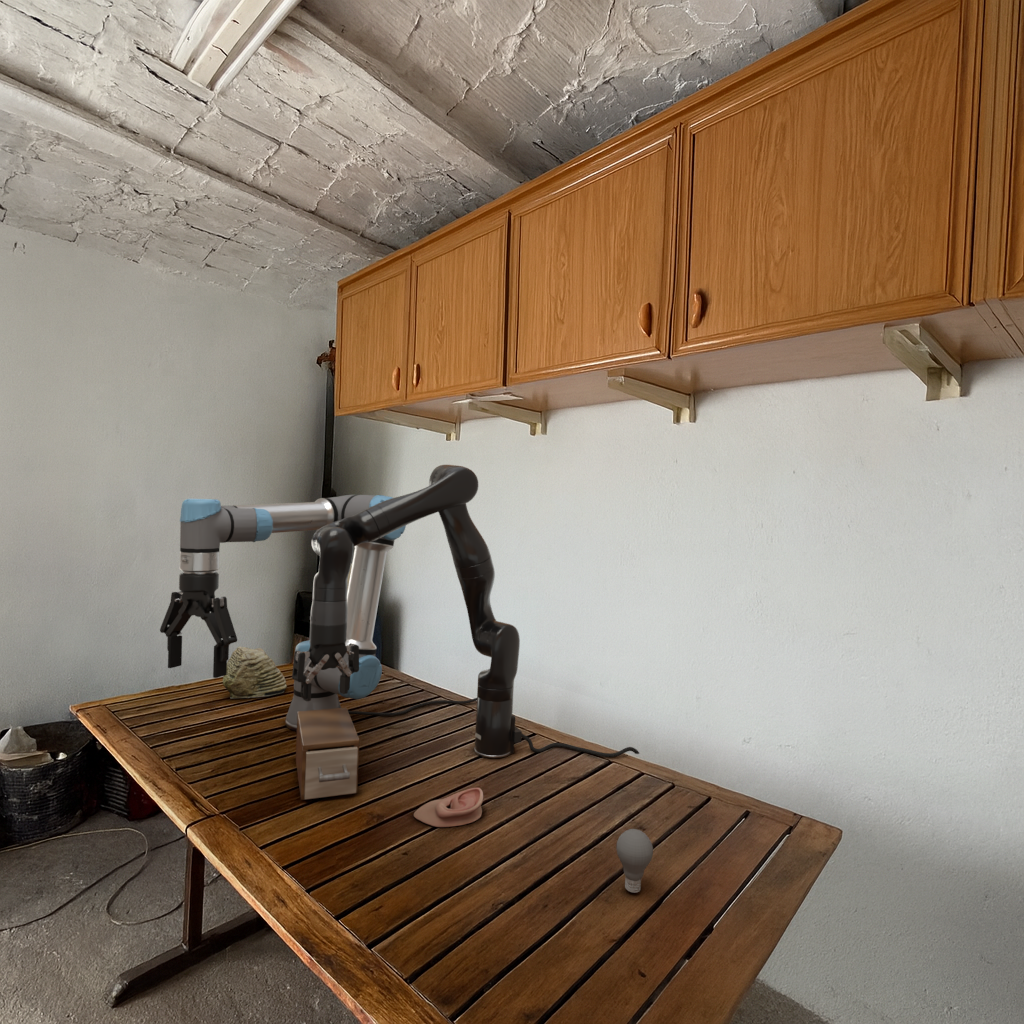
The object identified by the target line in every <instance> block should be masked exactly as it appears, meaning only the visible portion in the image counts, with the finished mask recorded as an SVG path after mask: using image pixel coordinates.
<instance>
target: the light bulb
mask: <svg viewBox="0 0 1024 1024" xmlns="http://www.w3.org/2000/svg"><path fill="white" fill-rule="evenodd" d="M615 849H616V854H617V857H618V859H619V861H620V863H621V865H622V867H623V873H624V874H623V875H624V876H625V878H624V888H625V890H627V891H628V892H630V893H634V894H635V893H639V892H640V891H641V889H642V887H641V886H642V879H643V877H644V875H645V871H646V868H647V867H648V866H649V864H650V863H651V861H652V859H653V855H654V847H653V843H652V841H651V838H649V836H648V835H647V834H646V833H645V832H643V831H642V830H641V829H636V828H629V829H627V830H625V831H623V832H622V833H621V834H620V835H619V837H618V839H617V841H616V847H615Z"/></svg>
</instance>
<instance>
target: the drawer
mask: <svg viewBox="0 0 1024 1024" xmlns="http://www.w3.org/2000/svg"><path fill="white" fill-rule="evenodd" d="M357 755H358V748H357V747H351V746H341V747H331V748H321V749H311V750H308V752H306V769H305V795H304V797H305V799H306V800H312V798H314V799H319V798H320V797H322V798H329V797H336V795H337V796H345V795H352V794H351V793H353V794H357V793H356V780H357ZM344 794H345V795H344ZM328 796H329V797H328ZM320 799H321V798H320Z"/></svg>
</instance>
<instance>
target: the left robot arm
mask: <svg viewBox="0 0 1024 1024" xmlns="http://www.w3.org/2000/svg"><path fill="white" fill-rule="evenodd" d="M392 498H394V497H393V496H387V495H383V494H346V495H340V496H333V497H320V498H317V499H316V500H315V501H307V502H281V503H279V502H278V503H255V504H233V505H222V503H221V501H220V500H219V499H216V498H215V499H214V498H185V499H184V500H183V501H182V502H181V508H180V516H179V522H180V523H179V525H180V527H179V530H180V534H179V536H180V537H179V546H180V547H179V570H180V571H181V572H180V574H179V575H178V589H179V590H178V591H172V592H171V593H170V603H169V604H168V608H167V610H166V612H165V615H164V617H163V620H162V623H161V625H160V628H159V632H160V633H161V634H165V636H166V638H167V639H166V640H167V642H166V643H167V644H166V650H167V668H168V669H173V668H177V667H182V661H183V660H182V659H183V651H182V650H183V635H182V634H183V632H182V631H183V629H184V627H185V626H186V625H187V623H188V622H189V620H190V619H191V618H192V617H193V616H195V617H198V618H200V619H201V620H202V621H204V622H205V624H206V627H207V628H208V630H209V632H210V634H211V636H212V637H213V639H214V641H215V643H216V644H215V645H214V646H213V666H212V667H213V668H212V669H213V670H212V678H214V679H217V678H221V677H224V676H225V675H227V662H228V660H229V659H230V657H229V655H230V654H229V653H230V645H231V644H234V643H237V642H238V637H237V634H236V629H235V628H234V624H233V622H232V618H231V615H230V612H229V611H230V610H229V608H228V598H227V597H226V596H219V597H216V594H215V593H216V591H217V590H218V589H219V579H220V574H219V572H218V571H219V569H220V547H221V545H220V544H223V543H224V544H225V543H245V542H246V543H249V542H252V543H256V542H264V541H267V540H268V539H269V538H270V537H271V535H272V534H277V533H291V532H304V531H305V532H306V531H317V530H318V529H320V528H321V527H323V526H325V525H327V524H330V523H333V522H335V521H338V520H341V519H344V518H347V517H351V516H353V515H356V514H358V513H359V512H361V511H363V510H365V509H367V508H370V507H372V506H374V505H376V504H378V503H381V502H383V501H386V500H389V499H392ZM406 527H407V525H405V526H403V527H401V528H399V529H397V530H395V531H393V532H391V533H389V534H387V535H385V536H383V537H381V538H379V539H377V540H375V541H372V542H369V543H361V544H358V545H356V546H354V547H353V548H354V550H353V557H352V562H351V567H350V573H349V574H350V575H349V581H348V586H347V608H348V614H347V637H346V642H345V645H346V646H347V645H349V644H350V643H352V644H356V645H358V646H359V671H358V672H354V673H353V674H351V676H350V688H349V691H348V693H347V694H342V693H340V675H342V673H341V672H340V670H339V669H338V668H337V667H336V668H328V669H326V670H320V671H319V673H318V674H317V675H315V676H314V678H313V679H312V681H311V682H310V683H311V684H312V685H311V700H310V701H305V700H303V698H302V697H301V682H298V681H296V680H294V679H293V695H292V696H293V697H292V699H291V702H290V704H289V708H288V711H287V713H286V715H285V726H286V728H287V729H289V730H291V731H294V732H295V731H296V732H297V712H298V711H310V710H322V709H335V708H342V706H341V702H340V699H339V695H340V696H341V697H343V698H345V699H353V700H360V699H364V698H366V697H368V696H369V695H370V694H371V693H372V691H374V690H376V688H377V687H378V685H379V683H380V681H381V678H382V674H383V667H382V664H381V661H380V659H379V658H377V656H376V654H377V645H376V644H375V642H374V641H373V638H374V632H375V627H376V626H375V625H376V619H377V613H378V606H379V601H380V596H381V589H382V583H383V577H384V571H385V566H386V561H387V560H386V559H387V553H389V552H390V551H391V550H392V549H394V544H395V540H397V539H399V538H401V536H402V535H403V534H404V532H405V530H406ZM309 648H310V639H308V640H304V641H300V642H299V643H298V644H297V645H296V646H295V651H297V650H298V651H301V652H305V651H308V650H309ZM343 660H344V661H345V662H346V664H347V665H348V654H347V652H346V654H345V655H344V657H343ZM309 662H310V658H309V657H308V658H307V661H306V662H305V665H304V671H305V670H306V669H305V668H306V666H307V665H308V663H309ZM314 667H315V665H314ZM314 667H313V668H314ZM475 702H477V697H474V698H472V699H469V700H449V699H448V700H447V699H440V700H431V701H425V702H421V703H418V704H414V705H412V706H410V707H408V708H407V709H404V710H400V711H395V712H376V711H375V712H374V711H358V710H348V712H349V715H359V716H379V717H391V716H393V717H394V716H399V715H400V716H401V715H404V714H407V713H410V712H411V711H412V710H415V709H418V708H421V707H424V706H428V705H434V704H454V705H463V704H464V705H466V704H470V703H475Z"/></svg>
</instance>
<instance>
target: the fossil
mask: <svg viewBox="0 0 1024 1024" xmlns="http://www.w3.org/2000/svg"><path fill="white" fill-rule="evenodd" d="M222 685H223V687H224V688H225V690H226V691H228V693H229V698H230V699H250V698H264V697H271V696H275V695H281V694H284V693H285V691H286V689H287V687H288V686H287V680H286V678H285V676H284V674H283V673H282V672H281V669H279V668H278V667H277V665H276V663H275V662H274V660H273V659H272V658H271V657H270V656H269V655H268V654H267V653H266V652H265V650H264V649H263V648H260V647H258V648H251V647H247V646H246V647H245V646H238V647H237V648H236V649H235V650H233V651H232V653H231V656H230V657H229V658H228V660H227V675H225V676H222Z"/></svg>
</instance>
